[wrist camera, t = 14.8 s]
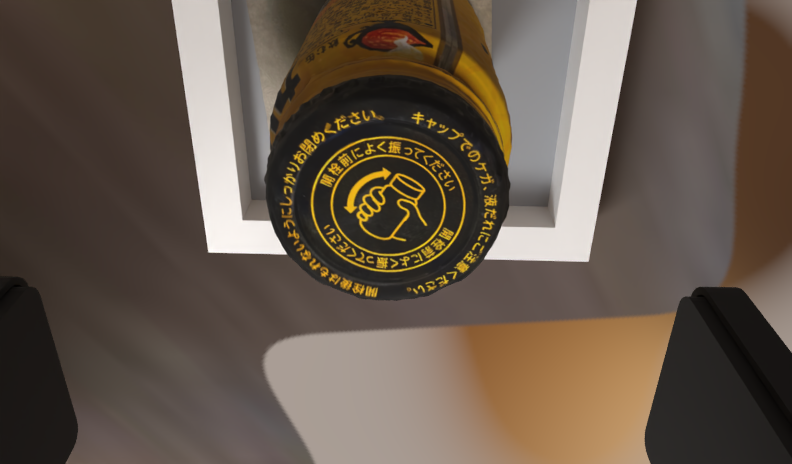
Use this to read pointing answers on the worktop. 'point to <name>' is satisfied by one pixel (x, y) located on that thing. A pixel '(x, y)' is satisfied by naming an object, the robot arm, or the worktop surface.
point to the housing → (523, 89)
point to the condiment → (383, 140)
